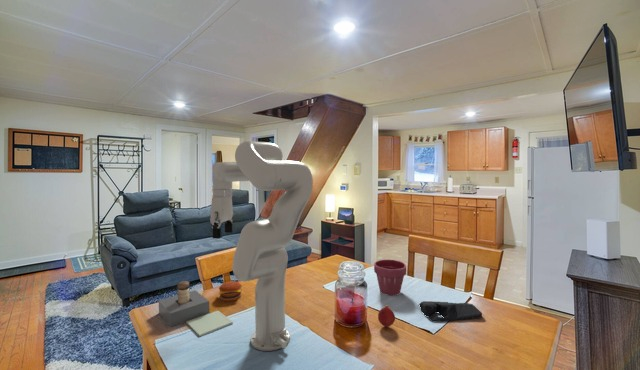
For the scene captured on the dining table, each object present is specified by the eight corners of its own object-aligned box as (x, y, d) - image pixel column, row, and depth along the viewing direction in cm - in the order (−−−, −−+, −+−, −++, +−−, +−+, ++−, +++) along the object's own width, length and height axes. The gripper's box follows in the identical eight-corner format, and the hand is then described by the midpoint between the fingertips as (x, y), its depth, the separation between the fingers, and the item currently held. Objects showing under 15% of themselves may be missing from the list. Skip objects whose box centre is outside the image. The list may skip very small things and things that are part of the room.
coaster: (232, 323, 107) (232, 321, 107) (199, 336, 99) (199, 334, 99) (218, 311, 116) (218, 310, 116) (186, 323, 107) (186, 321, 107)
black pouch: (488, 323, 108) (488, 311, 108) (428, 323, 108) (428, 310, 108) (467, 304, 123) (468, 293, 123) (415, 304, 123) (415, 293, 123)
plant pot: (367, 290, 135) (367, 263, 135) (385, 282, 145) (386, 257, 144) (394, 301, 125) (394, 271, 124) (411, 292, 134) (412, 264, 133)
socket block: (209, 313, 114) (209, 301, 114) (170, 327, 105) (170, 313, 104) (195, 301, 124) (195, 290, 124) (158, 313, 115) (158, 300, 114)
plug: (191, 313, 114) (190, 283, 114) (180, 317, 112) (179, 286, 111) (187, 309, 117) (186, 280, 117) (176, 313, 114) (175, 283, 114)
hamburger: (219, 294, 132) (219, 279, 132) (241, 291, 135) (241, 277, 134) (218, 303, 123) (218, 287, 123) (242, 300, 126) (241, 285, 125)
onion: (382, 332, 101) (382, 310, 101) (375, 324, 107) (375, 302, 106) (397, 330, 103) (398, 307, 102) (389, 321, 108) (389, 300, 108)
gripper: (224, 191, 128) (224, 230, 129) (201, 195, 110) (202, 240, 112) (240, 191, 126) (240, 230, 128) (220, 195, 109) (220, 241, 111)
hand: (222, 235), depth 120 cm, fingers open, 9 cm apart
